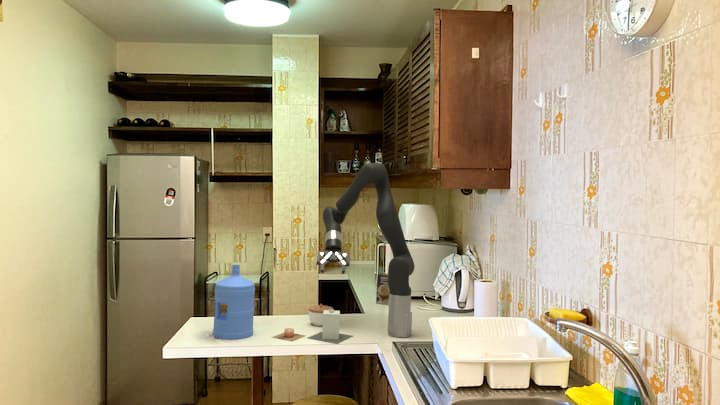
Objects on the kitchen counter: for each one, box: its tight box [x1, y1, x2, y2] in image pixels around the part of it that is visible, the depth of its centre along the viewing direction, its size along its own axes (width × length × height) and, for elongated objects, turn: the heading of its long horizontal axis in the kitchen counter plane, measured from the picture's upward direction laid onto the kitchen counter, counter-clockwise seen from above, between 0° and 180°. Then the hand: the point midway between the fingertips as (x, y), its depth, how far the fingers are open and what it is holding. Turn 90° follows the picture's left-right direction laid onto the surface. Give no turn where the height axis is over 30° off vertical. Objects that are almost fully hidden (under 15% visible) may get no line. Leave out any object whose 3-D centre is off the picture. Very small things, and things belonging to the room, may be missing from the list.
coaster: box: [271, 332, 306, 342], centre depth 197 cm, size 10×10×1 cm
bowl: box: [283, 327, 295, 337], centre depth 197 cm, size 4×4×3 cm
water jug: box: [212, 264, 256, 340], centre depth 198 cm, size 16×16×28 cm
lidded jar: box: [308, 303, 334, 327], centre depth 219 cm, size 11×11×9 cm
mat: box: [306, 331, 354, 345], centre depth 199 cm, size 14×14×1 cm
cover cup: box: [321, 308, 341, 340], centre depth 199 cm, size 7×7×11 cm
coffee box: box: [375, 272, 389, 306], centre depth 272 cm, size 9×6×16 cm
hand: (332, 272), depth 210 cm, fingers open, 8 cm apart
